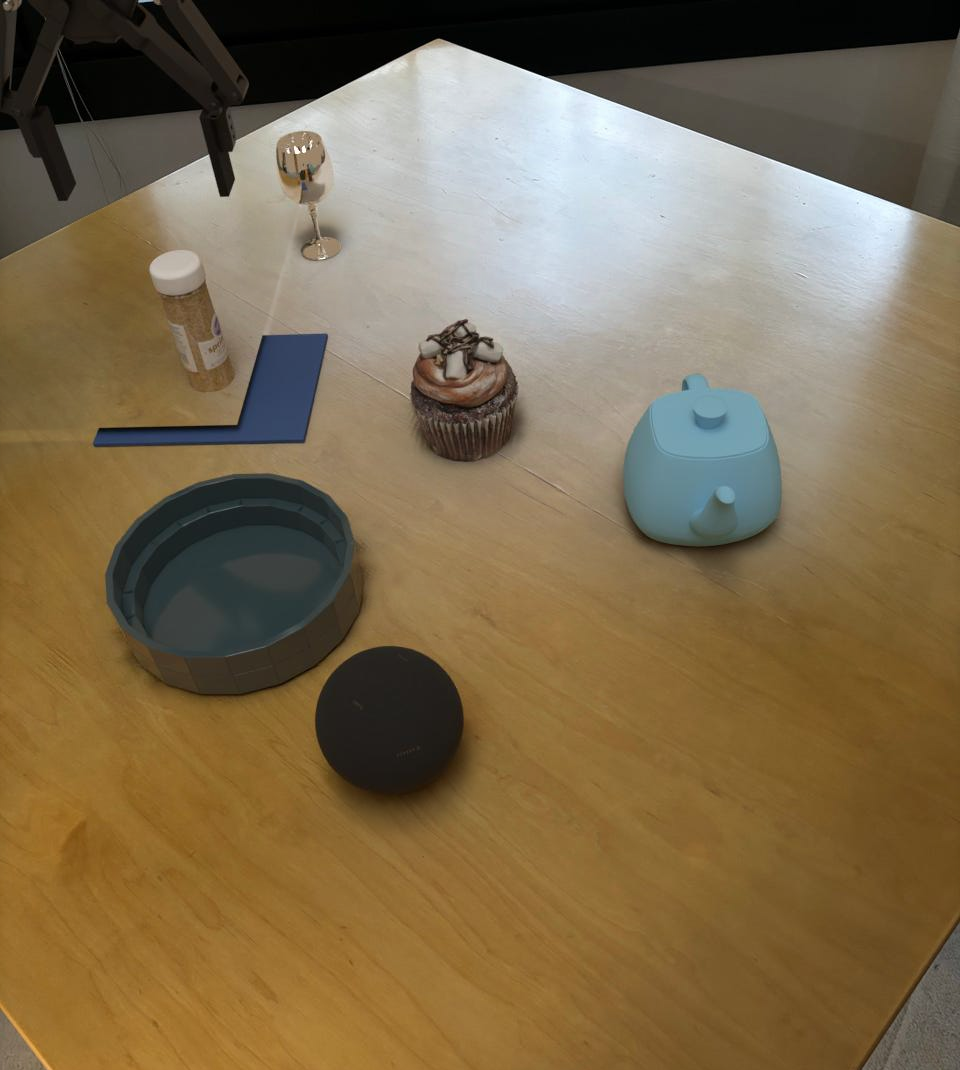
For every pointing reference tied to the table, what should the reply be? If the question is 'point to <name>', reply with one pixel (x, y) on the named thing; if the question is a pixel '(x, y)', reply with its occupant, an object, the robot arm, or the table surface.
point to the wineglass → (307, 183)
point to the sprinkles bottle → (192, 319)
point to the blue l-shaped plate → (251, 401)
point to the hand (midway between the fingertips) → (147, 190)
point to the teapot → (702, 467)
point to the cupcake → (463, 393)
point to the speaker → (389, 720)
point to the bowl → (235, 583)
